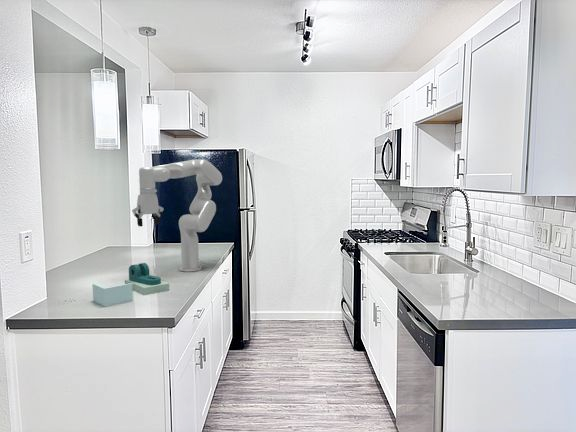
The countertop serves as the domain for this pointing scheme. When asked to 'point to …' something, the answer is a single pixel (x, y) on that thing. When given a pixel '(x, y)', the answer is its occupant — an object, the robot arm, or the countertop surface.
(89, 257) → the countertop surface
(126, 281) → the base plate
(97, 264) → the countertop surface
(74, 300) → the countertop surface
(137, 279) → the bracket
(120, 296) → the l-shaped corner panel
